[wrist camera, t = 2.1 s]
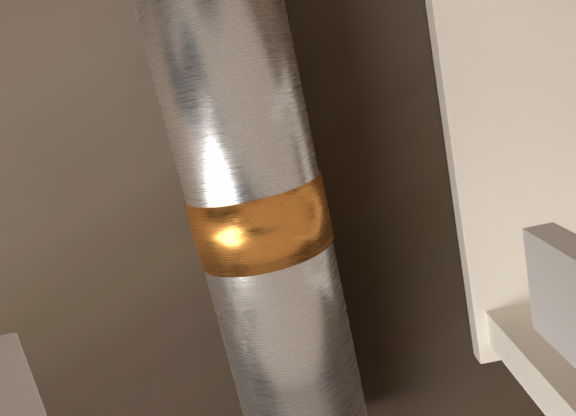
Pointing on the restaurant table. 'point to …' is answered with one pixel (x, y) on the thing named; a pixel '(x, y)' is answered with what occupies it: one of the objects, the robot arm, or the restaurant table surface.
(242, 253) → the air tube
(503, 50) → the collar stand
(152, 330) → the restaurant table surface
